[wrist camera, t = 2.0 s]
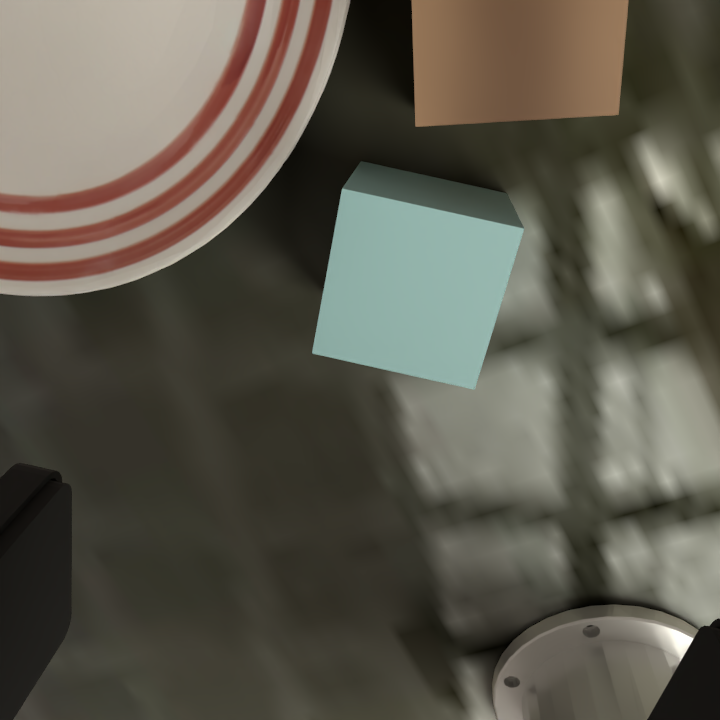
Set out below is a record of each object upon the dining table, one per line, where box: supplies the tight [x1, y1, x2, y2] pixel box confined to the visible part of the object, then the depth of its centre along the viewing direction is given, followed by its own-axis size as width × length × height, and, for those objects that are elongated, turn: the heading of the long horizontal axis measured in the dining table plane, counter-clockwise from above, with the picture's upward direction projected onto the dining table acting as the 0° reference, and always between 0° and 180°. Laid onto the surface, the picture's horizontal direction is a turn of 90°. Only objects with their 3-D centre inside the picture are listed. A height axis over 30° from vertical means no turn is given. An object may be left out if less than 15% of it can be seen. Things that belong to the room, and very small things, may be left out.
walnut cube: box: [412, 0, 628, 127], centre depth 22 cm, size 6×6×6 cm
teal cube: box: [312, 161, 524, 390], centre depth 26 cm, size 6×6×6 cm
